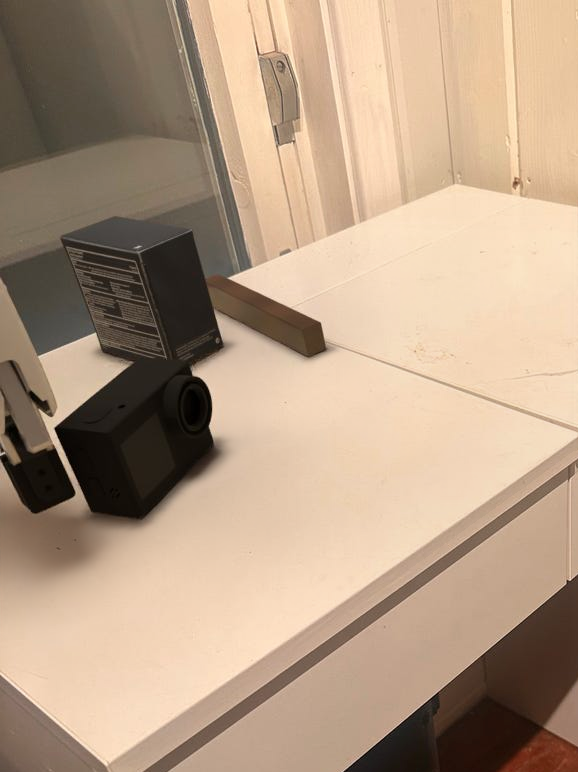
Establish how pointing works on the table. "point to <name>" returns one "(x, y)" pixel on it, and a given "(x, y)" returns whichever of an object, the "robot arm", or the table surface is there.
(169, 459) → the digital camera
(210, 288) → the brown wooden bar
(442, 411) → the table surface
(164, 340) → the small box
